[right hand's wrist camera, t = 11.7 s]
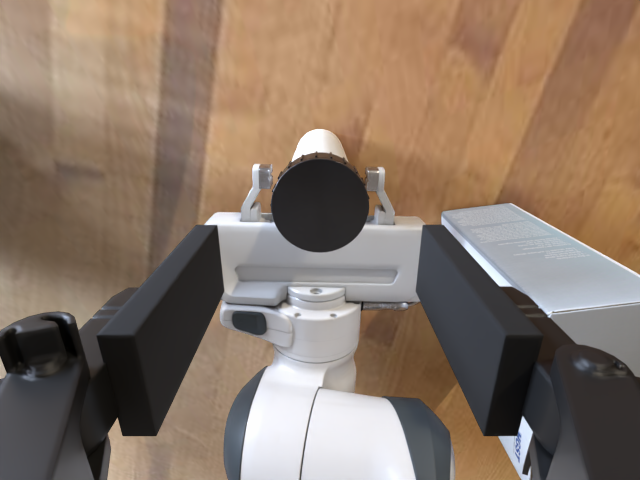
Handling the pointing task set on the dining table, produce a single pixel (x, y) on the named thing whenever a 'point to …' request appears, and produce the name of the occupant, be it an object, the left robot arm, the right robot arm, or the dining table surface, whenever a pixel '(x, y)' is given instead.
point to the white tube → (319, 144)
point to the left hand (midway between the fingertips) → (318, 166)
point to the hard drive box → (554, 286)
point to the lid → (319, 202)
